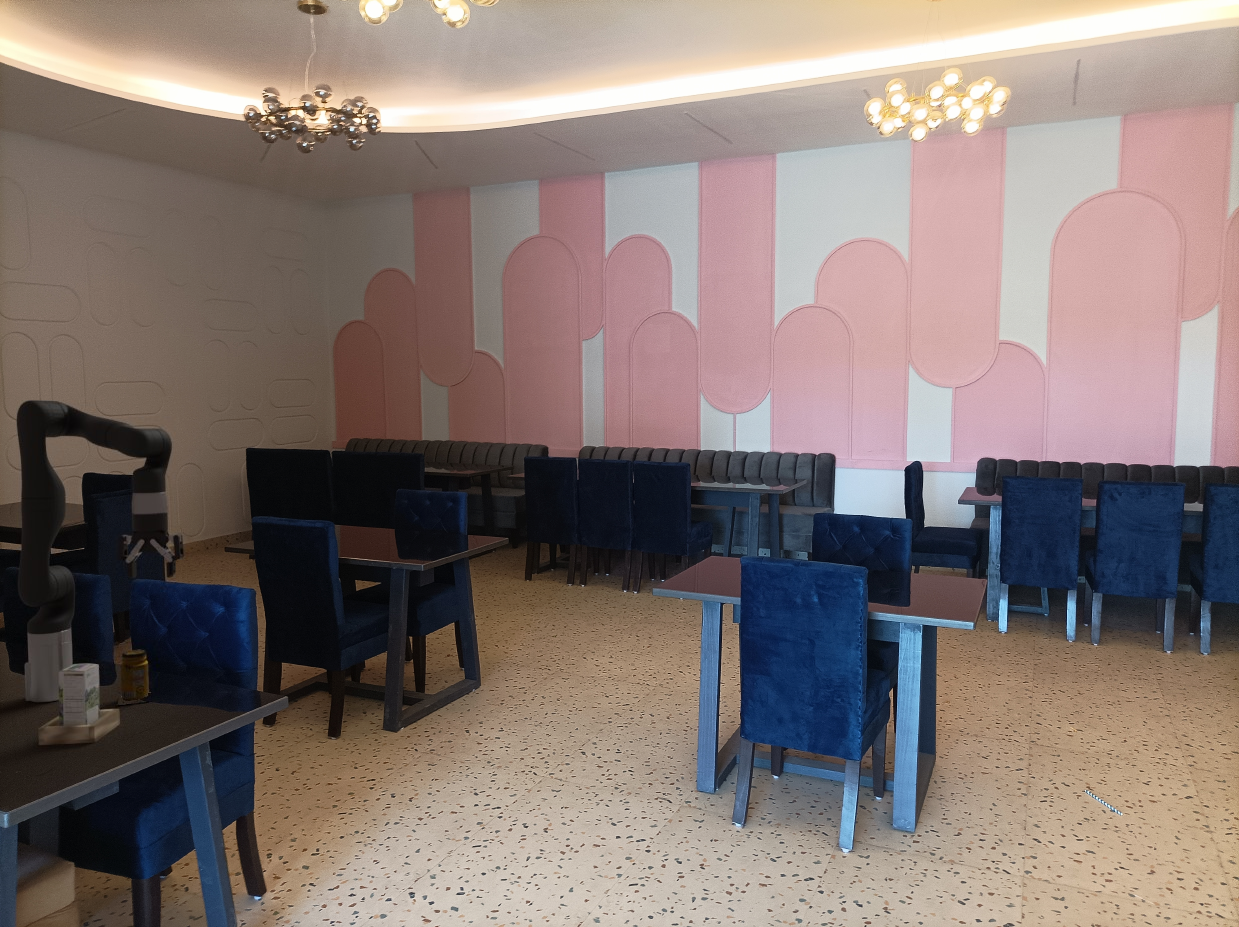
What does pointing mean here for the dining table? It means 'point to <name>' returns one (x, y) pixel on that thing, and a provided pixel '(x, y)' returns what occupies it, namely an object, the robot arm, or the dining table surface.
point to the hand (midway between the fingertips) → (151, 577)
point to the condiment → (134, 675)
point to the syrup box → (79, 695)
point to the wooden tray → (79, 730)
